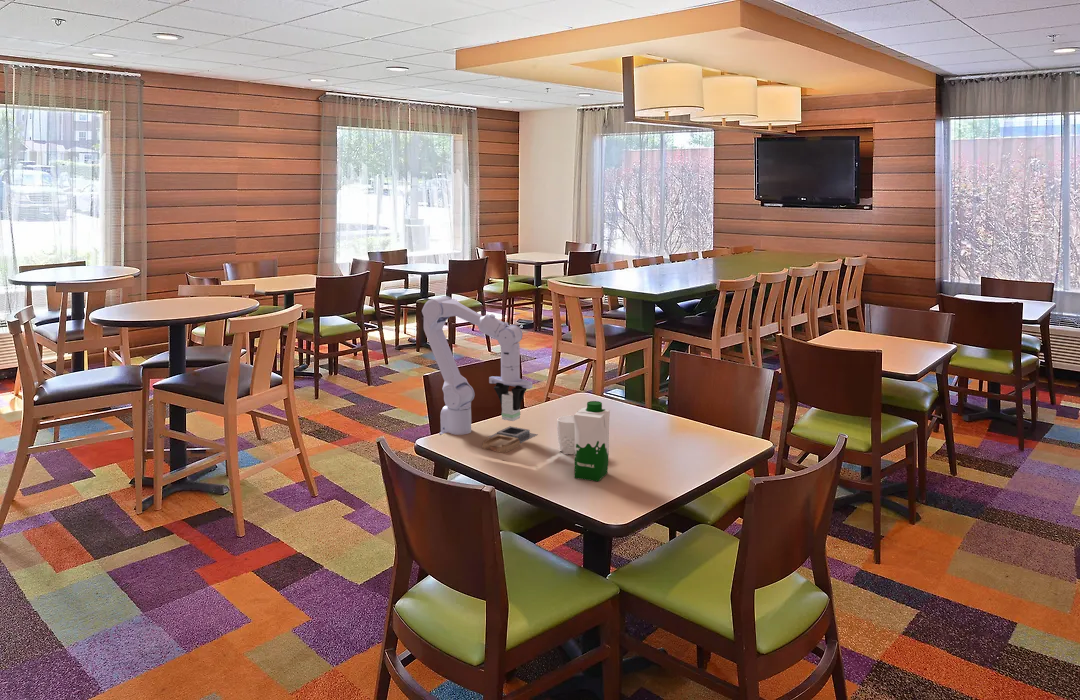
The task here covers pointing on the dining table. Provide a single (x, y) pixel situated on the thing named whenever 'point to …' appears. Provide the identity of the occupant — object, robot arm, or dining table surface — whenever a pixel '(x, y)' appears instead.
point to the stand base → (516, 433)
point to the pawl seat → (501, 443)
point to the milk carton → (591, 441)
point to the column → (509, 407)
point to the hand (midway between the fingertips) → (510, 408)
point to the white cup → (566, 434)
